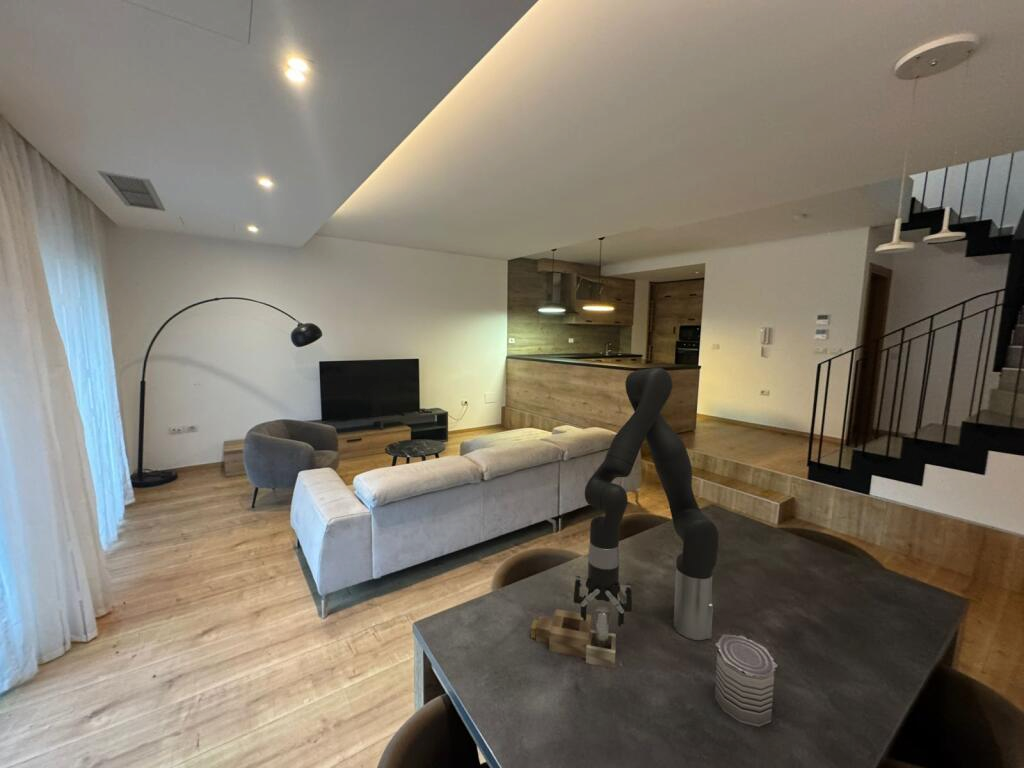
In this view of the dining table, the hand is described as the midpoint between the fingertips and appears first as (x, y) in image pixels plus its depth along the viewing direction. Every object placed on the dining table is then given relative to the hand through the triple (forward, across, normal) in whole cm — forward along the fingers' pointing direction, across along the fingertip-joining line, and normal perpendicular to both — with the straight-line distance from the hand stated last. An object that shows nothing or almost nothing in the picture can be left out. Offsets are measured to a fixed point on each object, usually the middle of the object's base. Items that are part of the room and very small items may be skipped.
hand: (601, 621), depth 103 cm
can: (+9, -31, +6) cm, 33 cm away
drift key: (+9, +14, -3) cm, 17 cm away
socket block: (+9, +10, -3) cm, 14 cm away
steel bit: (+9, 0, 0) cm, 9 cm away
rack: (+9, 0, 0) cm, 9 cm away
